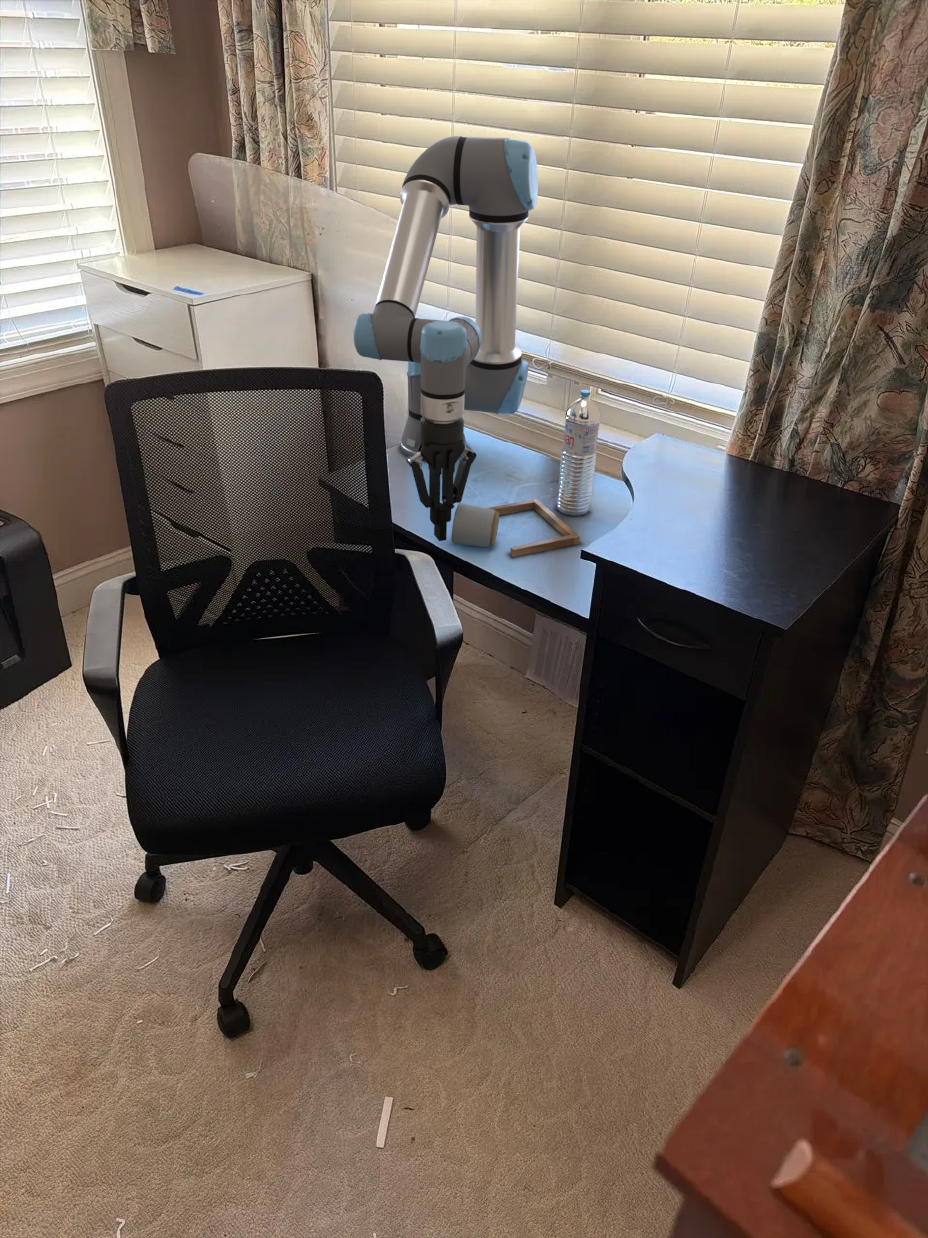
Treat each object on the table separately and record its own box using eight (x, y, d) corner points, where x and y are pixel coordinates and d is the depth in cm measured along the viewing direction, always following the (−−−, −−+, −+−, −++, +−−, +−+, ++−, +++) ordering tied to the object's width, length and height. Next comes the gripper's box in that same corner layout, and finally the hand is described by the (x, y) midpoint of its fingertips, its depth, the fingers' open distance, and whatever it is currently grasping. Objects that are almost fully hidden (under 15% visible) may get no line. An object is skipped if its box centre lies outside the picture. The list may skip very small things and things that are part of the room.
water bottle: (555, 501, 179) (566, 384, 165) (588, 502, 178) (602, 385, 164) (556, 516, 173) (568, 396, 159) (590, 517, 173) (605, 398, 159)
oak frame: (474, 517, 172) (474, 510, 171) (536, 505, 177) (537, 498, 176) (512, 557, 159) (513, 549, 158) (578, 543, 164) (579, 536, 163)
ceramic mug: (493, 555, 159) (496, 517, 155) (450, 549, 160) (452, 512, 156) (500, 530, 168) (503, 494, 164) (459, 525, 169) (461, 489, 165)
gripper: (415, 428, 142) (415, 552, 155) (485, 419, 146) (479, 540, 159) (399, 413, 148) (400, 534, 161) (467, 405, 152) (463, 523, 165)
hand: (440, 537), depth 160 cm, fingers closed
